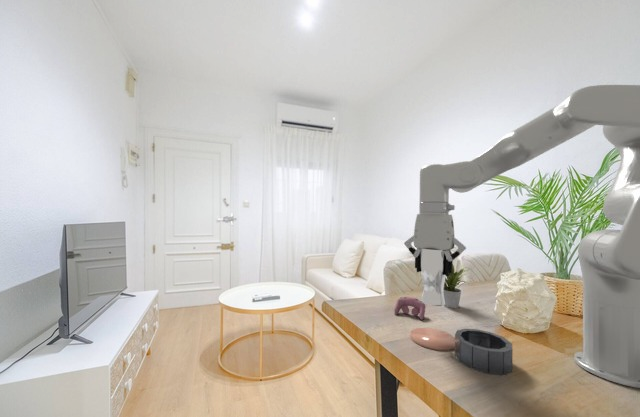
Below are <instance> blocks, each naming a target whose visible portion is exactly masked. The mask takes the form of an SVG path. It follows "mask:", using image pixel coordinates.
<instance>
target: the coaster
mask: <svg viewBox="0 0 640 417" xmlns="http://www.w3.org/2000/svg"><path fill="white" fill-rule="evenodd" d="M409 334H410V335H409V337H410V339H411V340H412V341H413V342H414V344H417V345H418V346H422V347H424V348H425V349H430V350H434V351H442V352H443V351H452V350H455V336H454V335H452V334H450V333H449V332H445V331H444V330H440V329H436V328H431V327H430V328H429V327H417V328H414V329H412V330H410V333H409Z"/></svg>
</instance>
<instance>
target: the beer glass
mask: <svg viewBox="0 0 640 417" xmlns="http://www.w3.org/2000/svg"><path fill="white" fill-rule="evenodd" d="M445 261H447V258H446V256H445V254H444V251H443V250H431V249H423V248H421V252H420V272H419V273H420V277H421V283H422V294H421V298H420V300H421V301H422V302H423V303H424V304H425V305H427V306H433V307H442V306H444V305H445V300H444V294H443V289H444V282H445V283H446V281H445V277H446V278H447V276H446V275H445Z"/></svg>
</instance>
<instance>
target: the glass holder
mask: <svg viewBox="0 0 640 417" xmlns="http://www.w3.org/2000/svg"><path fill="white" fill-rule="evenodd" d="M454 337H455V349H454V356H455V357H456V359H457V360H458V361H459V362H460V363H461V364H462V365H465V367H467V368H469V369H471V370H474V371H477V372H479V373H483V374H486V375H493V376H506V375H508V374H512V373H513V343H512V342H511V341H510V340H508V339H507V338H506V337H504V336H501V335H499V334H496V333H494V332H491V331H487V330H483V329H477V328H462V329H457V330H456V331H455V334H454Z"/></svg>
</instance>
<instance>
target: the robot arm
mask: <svg viewBox="0 0 640 417" xmlns="http://www.w3.org/2000/svg"><path fill="white" fill-rule="evenodd" d="M594 126H602V133H603V136H604V138H605V139H606V140H607V141H608V142H609V143H611V145H613V146H614V148H615V149H616V150H617V151H618V153H619V156H620V163H619V167H618V170H617V173H616V174H615V178H614V180H613V181H612V184H611V187H610V189H609V190H608V193H607V195H606V197H605V199H604V202H603V206H602V212H603V215H604V216H605V217H606V219H607V220H608V221H610V222H612V223H614V224H617V225H620V226H622V227H621V228H620V229H599V230H594V231H592V232H589V233H588V234H586V235H584V237H583V238H581V240H580V242H579V244H578V249H577V254H578V261H579V266H580V270H581V276H582V336H583V337H582V345H583V348H582V349H583V351H578V352H576V353H574V356H573V357H574V358H573V360H574V362H575V363H576V364H577V365H578V366H579V367H580V368H582V369H584V370H585V371H587V372H588V373H590V374H593V375H595V376H597V377H599V378H602V379H604V380H607V381H610V382H613V383H615V384H619V385H623V386H627V387H631V388H636V389H640V84H598V85H588V86H585V87H581V88H579V89H577V90H575V91H573V92H572V93H570V95H568V96H567V97H566V98H565V99H564V100H562V101H561V102H560V103H559V104H556V106H554V107H552V108H551V109H549V110H547V111H545V112H543V113H541V114H540V115H538V116H537V117H535V118H533V119H532V120H529V121H528V122H526V123H525V124H523V125H521V126H519V127H518V128H516V129H514V130H512V131H511V132H509V133H507V134H506V135H504V136H503V137H502V138H501V139H499V140H498V141H497V142H496V143H495V144H494V145H493V146H491V147H490V148H489V149H488V150H486V151H484V152H482V153H481V154H479V155H478V156H476V157H475V158H473V159H472V160H469V161H468V160H467V161H460V162H455V163H454V162H453V163H448V164H440V163H437V164H435V163H434V164H427V165H424V166H422V167H421V168H420V170H419V213H417V214H416V218H415V223H414V228H413V229H414V230H413V235H412V236H411V237H409V238H408V239H407V240H406V241H405V242H404V243H403V244H404V245H405V247H406V248H407V249H408V251H409V252H410V254H412V256H413V257H414V268H415V269H416V272H417V273H421V272H420V252H421V248H423V249H431V250H443V251H444V254H445V256H446V258H447V261H445V275H446V277H447V276H449V275H450V273H452V271H453V265H454V264H453V263H454V262H453V261H454V260H456V258H457V257H459V256H460V255H461V254H462V253H463V252H464V251H466V249H467V247H466V245H465V244H463V243H462V242H461V241H459V240H458V238H456V237H455V227H454V226H455V225H454V219H453V214H449V213H450V212H451V211H454V210H455V208H456V206H455V204H450V202H449V201H450V200H449V198H450V197H449V196H450V194H449V192H450V190H452V191H454V192H456V193H460V194H461V193H463V194H464V193H468V192H470V191H473V189H476V188H477V187H480V185H483V184H484V183H486V182H488V181H490V180H492V179H495V177H498V176H500V175H501V174H504V173H506V172H508V171H510V170H512V169H515V168H518V167H520V166H522V165H524V164H526V163H527V162H530V161H532V160H534V159H535V158H537V157H539V156H540V155H543V154H544V153H547V152H548V151H550V150H552V149H555V148H556V147H557V146H559V145H561V144H564V143H566V142H568V141H569V140H571V139H574V138H575V137H576V136H578V135H580V134H582V133H584V132H586V131H587V130H589V129H592V128H594ZM412 244H413V245H412ZM455 246H456V247H457V249H456V250H455V251H454V252H452V251H451V250H453V249H454V248H455Z"/></svg>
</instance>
